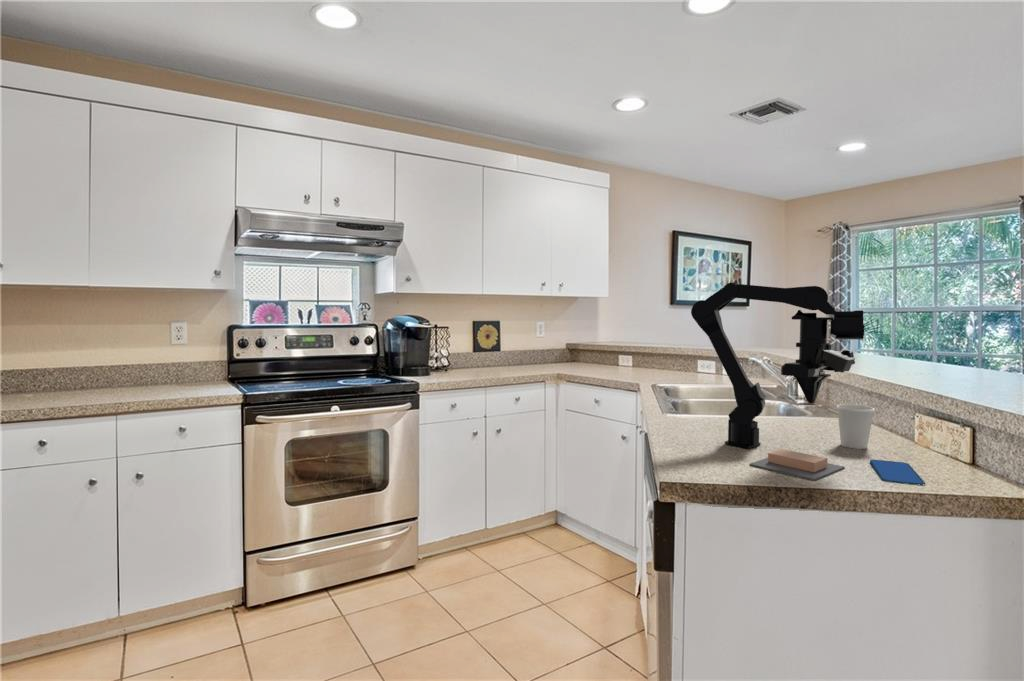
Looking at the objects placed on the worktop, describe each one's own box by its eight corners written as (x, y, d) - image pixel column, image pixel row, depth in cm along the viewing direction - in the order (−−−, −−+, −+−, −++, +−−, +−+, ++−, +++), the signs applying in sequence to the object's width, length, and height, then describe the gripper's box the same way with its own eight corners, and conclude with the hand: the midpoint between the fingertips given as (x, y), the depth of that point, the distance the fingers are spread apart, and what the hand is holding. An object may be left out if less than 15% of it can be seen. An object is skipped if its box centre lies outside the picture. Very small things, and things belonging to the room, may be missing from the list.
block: (781, 458, 128) (767, 462, 124) (781, 448, 127) (768, 453, 124) (827, 467, 120) (814, 473, 116) (827, 458, 120) (814, 462, 116)
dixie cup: (829, 445, 140) (831, 406, 140) (841, 440, 146) (842, 402, 145) (867, 452, 134) (869, 411, 133) (878, 446, 140) (879, 406, 139)
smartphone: (882, 479, 112) (868, 459, 125) (882, 484, 112) (868, 463, 126) (926, 484, 109) (908, 462, 122) (926, 489, 109) (907, 466, 123)
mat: (749, 465, 123) (749, 463, 123) (781, 454, 132) (781, 453, 132) (814, 480, 112) (814, 479, 112) (844, 468, 120) (844, 466, 120)
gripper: (831, 342, 120) (829, 412, 121) (866, 338, 132) (864, 403, 133) (780, 339, 129) (779, 405, 130) (817, 336, 140) (815, 397, 141)
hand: (811, 403), depth 133 cm, fingers closed
